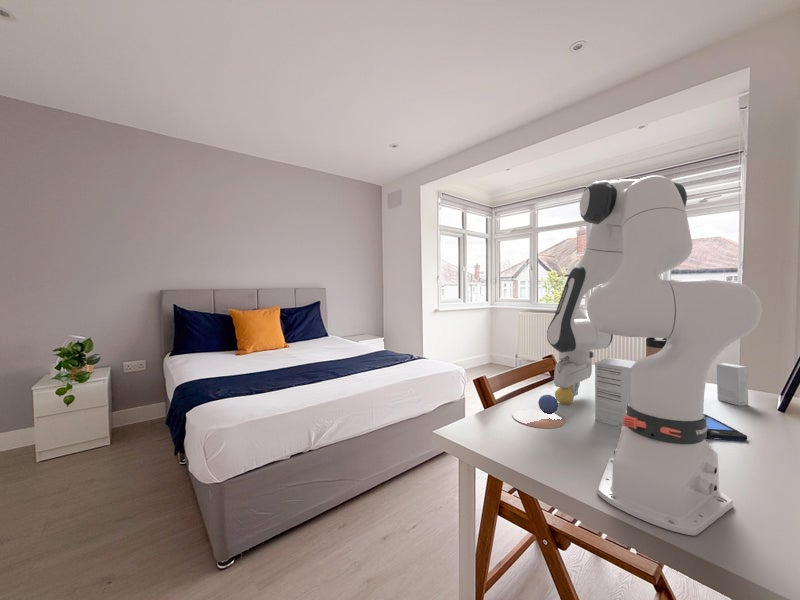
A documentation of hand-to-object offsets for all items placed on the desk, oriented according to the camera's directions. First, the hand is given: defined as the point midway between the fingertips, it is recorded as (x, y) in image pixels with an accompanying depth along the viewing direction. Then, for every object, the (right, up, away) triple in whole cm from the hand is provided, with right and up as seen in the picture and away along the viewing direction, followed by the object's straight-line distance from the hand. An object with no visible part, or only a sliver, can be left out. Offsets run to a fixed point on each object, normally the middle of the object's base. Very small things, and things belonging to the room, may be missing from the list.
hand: (573, 395), depth 110 cm
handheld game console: (+22, -3, -22) cm, 31 cm away
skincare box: (+49, -1, -4) cm, 49 cm away
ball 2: (-5, +1, -3) cm, 6 cm away
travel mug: (+29, -1, 0) cm, 29 cm away
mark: (-18, -2, -14) cm, 23 cm away
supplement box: (+4, -2, -17) cm, 18 cm away
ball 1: (-13, +1, -11) cm, 17 cm away
